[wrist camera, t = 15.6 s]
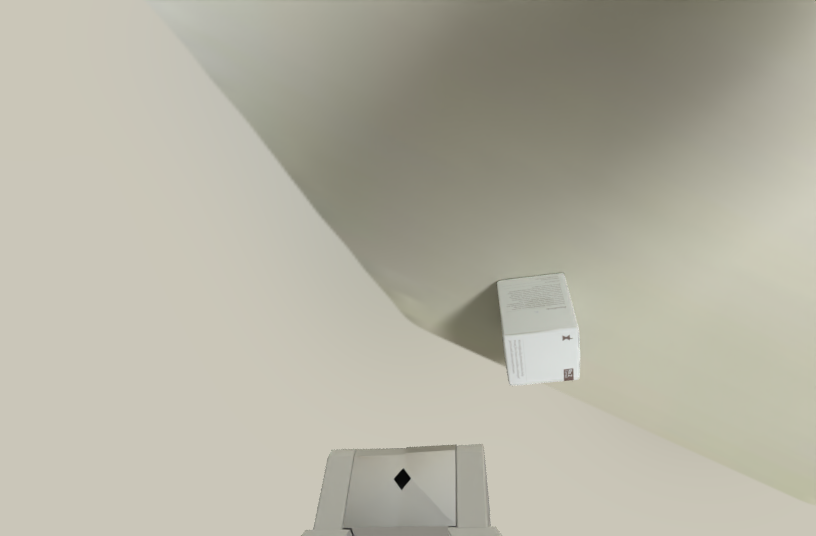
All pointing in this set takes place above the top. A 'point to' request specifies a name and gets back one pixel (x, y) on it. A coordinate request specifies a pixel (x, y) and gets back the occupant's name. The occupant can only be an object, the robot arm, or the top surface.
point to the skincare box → (539, 330)
